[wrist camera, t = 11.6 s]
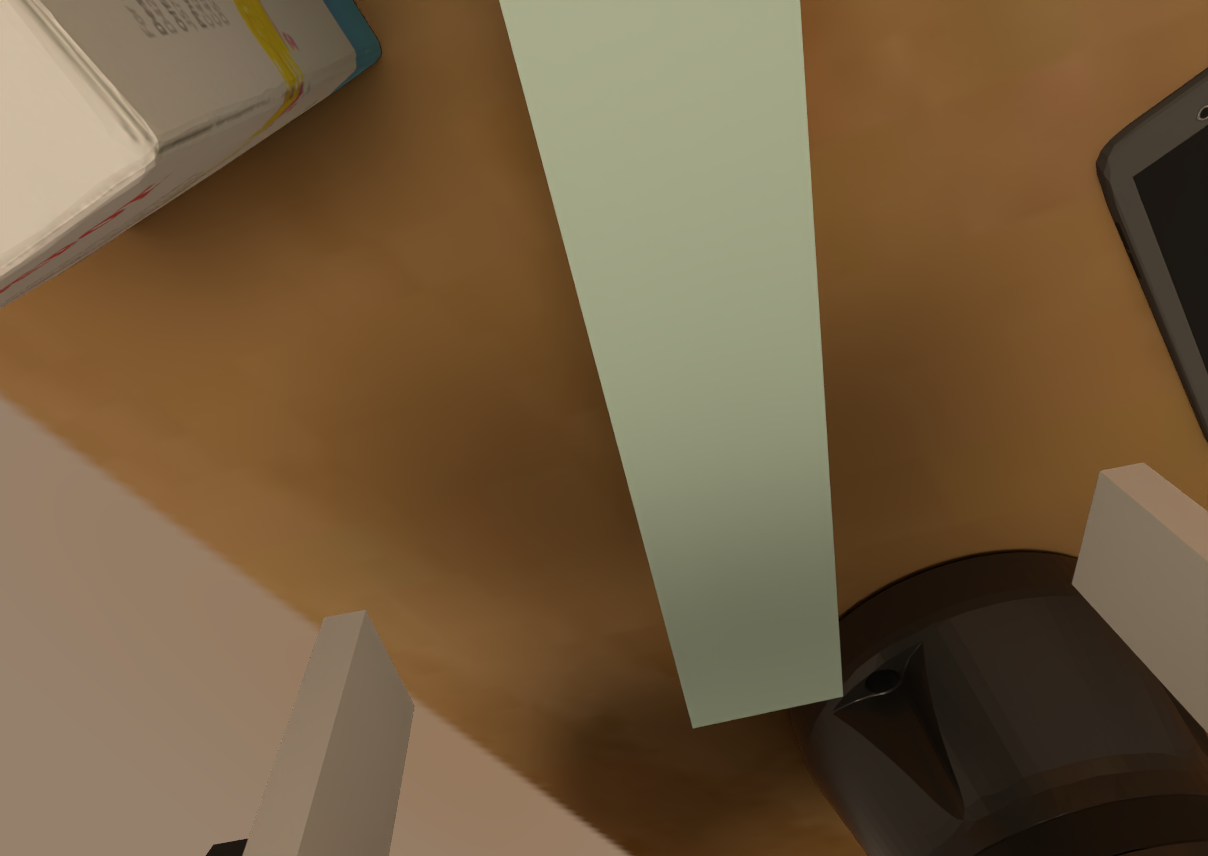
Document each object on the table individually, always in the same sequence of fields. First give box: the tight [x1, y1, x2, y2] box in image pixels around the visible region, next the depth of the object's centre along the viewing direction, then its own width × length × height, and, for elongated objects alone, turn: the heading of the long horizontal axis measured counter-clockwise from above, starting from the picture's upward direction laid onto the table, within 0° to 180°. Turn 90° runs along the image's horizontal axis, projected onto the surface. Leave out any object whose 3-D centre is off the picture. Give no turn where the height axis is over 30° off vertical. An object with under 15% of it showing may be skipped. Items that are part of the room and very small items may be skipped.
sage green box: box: [499, 0, 843, 728], centre depth 15 cm, size 27×14×8 cm, turn 13°
